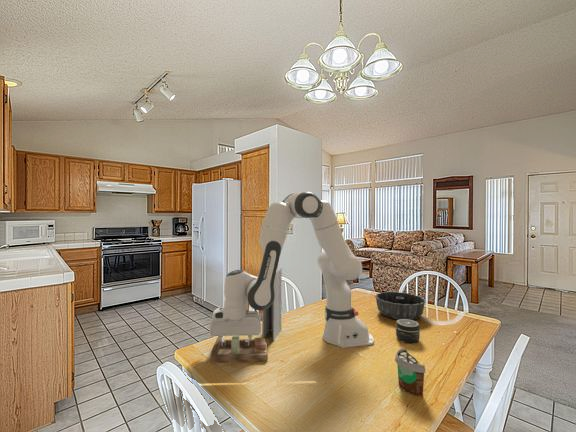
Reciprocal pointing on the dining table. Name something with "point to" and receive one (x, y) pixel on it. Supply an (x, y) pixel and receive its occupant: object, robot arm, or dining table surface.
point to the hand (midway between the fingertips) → (235, 345)
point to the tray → (243, 356)
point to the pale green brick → (235, 345)
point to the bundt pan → (400, 305)
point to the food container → (410, 373)
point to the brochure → (273, 310)
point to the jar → (407, 331)
